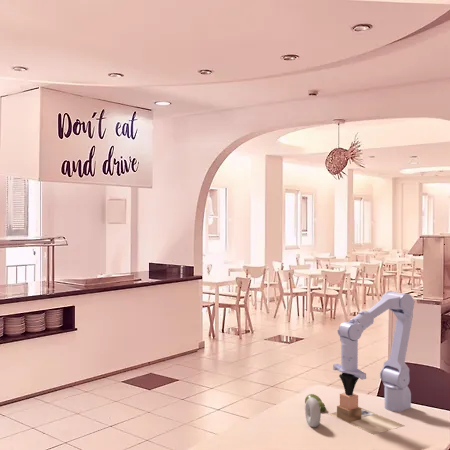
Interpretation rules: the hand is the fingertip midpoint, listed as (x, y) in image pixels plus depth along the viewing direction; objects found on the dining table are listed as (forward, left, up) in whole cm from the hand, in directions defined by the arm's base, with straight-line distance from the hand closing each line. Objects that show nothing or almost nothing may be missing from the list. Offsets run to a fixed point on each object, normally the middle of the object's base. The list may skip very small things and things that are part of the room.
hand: (349, 394), depth 197 cm
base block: (0, 0, -8) cm, 8 cm away
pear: (+3, -14, -10) cm, 18 cm away
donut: (+15, -2, -9) cm, 18 cm away
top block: (0, 0, -4) cm, 4 cm away
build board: (-4, +4, -9) cm, 11 cm away
